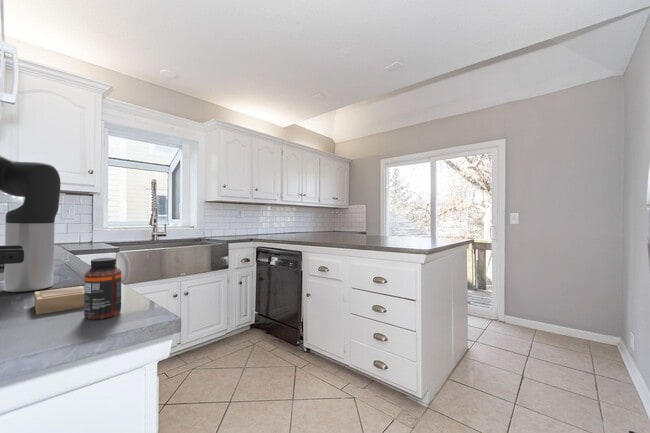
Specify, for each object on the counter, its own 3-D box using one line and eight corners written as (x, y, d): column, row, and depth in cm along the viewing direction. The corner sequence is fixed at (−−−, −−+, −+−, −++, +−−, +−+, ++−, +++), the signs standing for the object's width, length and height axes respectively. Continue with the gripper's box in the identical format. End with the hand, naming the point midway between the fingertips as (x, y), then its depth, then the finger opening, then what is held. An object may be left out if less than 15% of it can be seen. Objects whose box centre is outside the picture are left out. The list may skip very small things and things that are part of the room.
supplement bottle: (117, 308, 63) (119, 256, 63) (123, 316, 59) (125, 259, 59) (81, 315, 59) (83, 258, 59) (85, 323, 55) (86, 262, 55)
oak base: (34, 305, 64) (34, 291, 64) (81, 298, 70) (82, 285, 70) (36, 314, 58) (37, 298, 58) (88, 306, 64) (88, 291, 64)
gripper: (-176, 235, 34) (25, 233, 46) (-135, 230, 43) (22, 229, 55) (-180, 300, 34) (23, 281, 45) (-138, 281, 43) (21, 270, 55)
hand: (23, 253), depth 50 cm, fingers open, 8 cm apart
